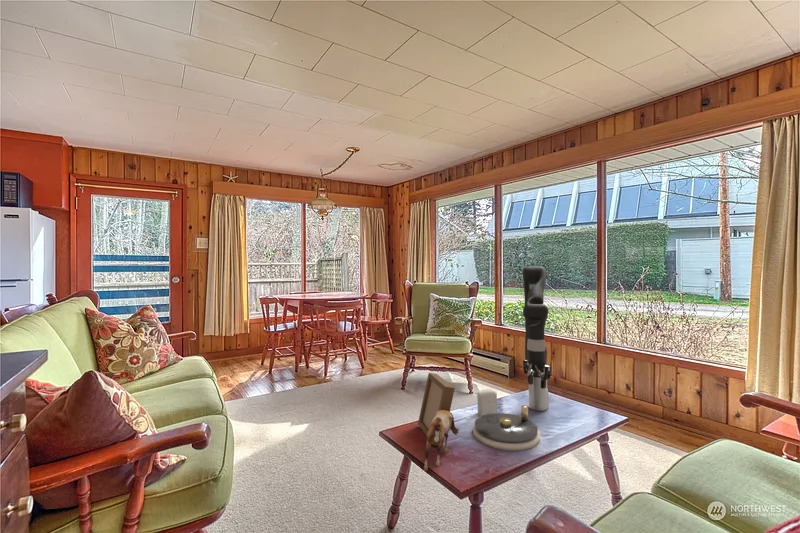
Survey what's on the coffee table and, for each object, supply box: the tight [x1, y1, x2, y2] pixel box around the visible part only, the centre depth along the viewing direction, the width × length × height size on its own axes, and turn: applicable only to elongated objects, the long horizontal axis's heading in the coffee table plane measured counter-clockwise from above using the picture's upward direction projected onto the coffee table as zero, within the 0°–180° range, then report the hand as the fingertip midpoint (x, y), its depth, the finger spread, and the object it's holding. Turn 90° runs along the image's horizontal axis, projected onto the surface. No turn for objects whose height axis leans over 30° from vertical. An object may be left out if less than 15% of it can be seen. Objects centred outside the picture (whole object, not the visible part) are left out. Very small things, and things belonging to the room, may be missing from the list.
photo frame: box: [417, 372, 455, 447], centre depth 167 cm, size 15×22×25 cm
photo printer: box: [476, 388, 498, 416], centre depth 189 cm, size 10×4×12 cm, turn 104°
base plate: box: [472, 422, 541, 451], centre depth 165 cm, size 29×29×2 cm
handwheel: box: [474, 404, 539, 443], centre depth 165 cm, size 27×27×8 cm
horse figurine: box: [423, 410, 460, 472], centre depth 146 cm, size 31×8×21 cm, turn 156°
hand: (536, 386), depth 165 cm, fingers open, 6 cm apart
